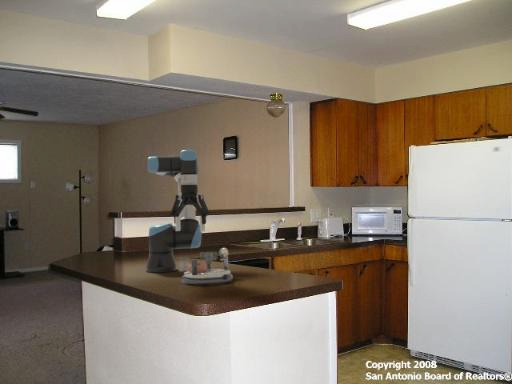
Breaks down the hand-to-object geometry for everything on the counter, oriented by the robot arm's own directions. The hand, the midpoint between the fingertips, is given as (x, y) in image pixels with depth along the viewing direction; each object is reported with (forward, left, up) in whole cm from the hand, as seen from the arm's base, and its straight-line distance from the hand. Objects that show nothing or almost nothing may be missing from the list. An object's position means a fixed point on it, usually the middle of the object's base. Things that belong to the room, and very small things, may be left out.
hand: (190, 231), depth 231 cm
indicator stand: (+12, +10, -21) cm, 26 cm away
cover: (+7, -3, -17) cm, 19 cm away
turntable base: (+12, -3, -21) cm, 25 cm away
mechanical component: (-2, +14, -21) cm, 26 cm away
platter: (+13, -3, -19) cm, 23 cm away
